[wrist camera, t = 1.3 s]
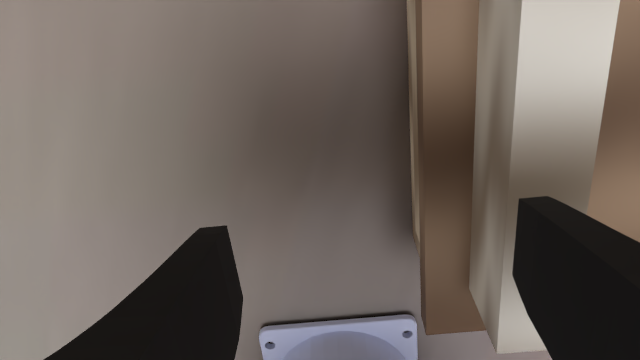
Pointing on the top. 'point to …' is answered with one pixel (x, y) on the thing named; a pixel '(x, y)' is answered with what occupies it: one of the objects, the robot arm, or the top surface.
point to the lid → (518, 143)
